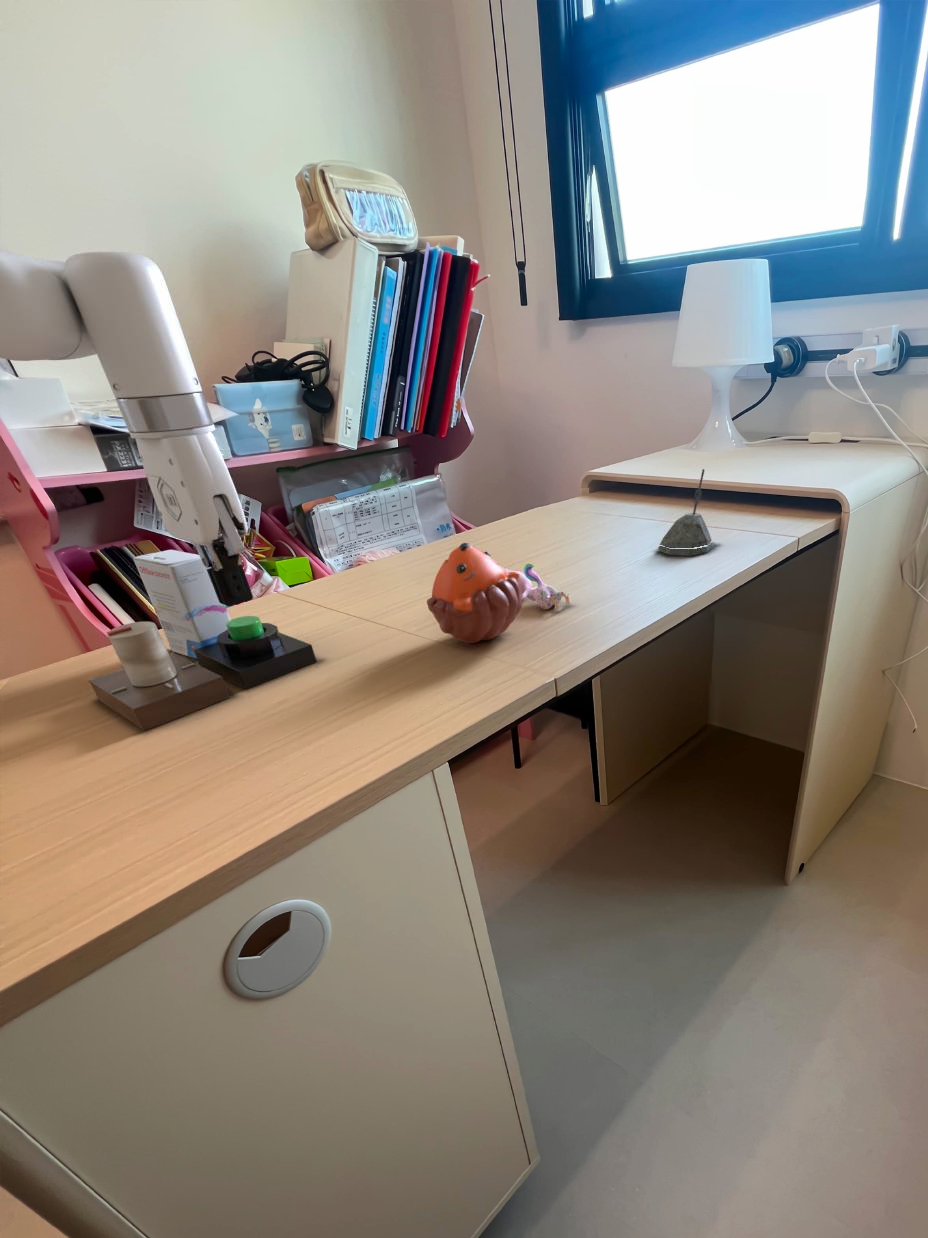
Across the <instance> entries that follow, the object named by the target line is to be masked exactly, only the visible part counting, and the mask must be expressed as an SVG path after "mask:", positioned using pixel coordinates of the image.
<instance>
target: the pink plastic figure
mask: <svg viewBox="0 0 928 1238" xmlns="http://www.w3.org/2000/svg"><path fill="white" fill-rule="evenodd" d="M534 567H535V566H534V564H532V563H526V564H525V566H524V569H523V572H521V571H519V570H510V569H507V568H504V567H502V568H503V569H504V570H505V572H506V573H509V572H518V573H519V578H518V581H517V582H518V585H519V587H520V593H521V601H523V602H525V601H526V600H527V598H528V599H529V600H530V601H532V602H536V603H537V605H538V606H539V607H540V608H541V609H543V610H549V609H551V608H552V606H554V612H555V613H558V612H557V609H560V607H559V604H560V602H561V600H562V597H564V599H565V604H564V605H565V606H567V607H569V605H571V603H570V598H569V595H570V594H565V592H564V591H558V590H556V588H555V587H553V586H552V585H551V584H546V583H544V582H543V581H542V579H541V578H540V576H539V575H538V573H536V572H535V570H534V569H533V568H534ZM532 582H535V583H536V584H537V586H535V587H533V584H532ZM568 604H569V605H568Z"/></svg>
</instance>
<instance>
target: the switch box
mask: <svg viewBox="0 0 928 1238" xmlns="http://www.w3.org/2000/svg"><path fill="white" fill-rule="evenodd" d="M261 624H262V627H263V630H264V633H263V634H261V635H259V636H256V637H253V638H249V639H243V640H232V639H231V636H230V633H229V631H228V629H227V630H226V631H224V632H223V633H221V634H219V635H218V637H217V642H216V643H213V644H210V645H207V646H204V647H201V648H198V649H195V650H194V652H195V655H196V657H197V659H196V660H197V661H198V665H199V666H201V667H203V668H205V669H207V670H209V671H211V672H213V673H216V674H218V675H220V676H222V678H223V680H224V679H225V680H226V681H228V682H230V683H232V684H235V685H236V686H239V687H241V688H242V689H245V690H248V689H250V688H253V687H256V686H259V685H261V684H263V683H266V682H268V681H271V680H273V679H276V678H278V677H281V676H284V675H286V674H289V673H291V672H293V671H296V670H300V669H301V668H304V667H307V666H310V665H312V664H314V663H317V657H316V655H315V652H314V648H313V645H312V644H311V643H308V642H305V641H303V640H301V639H297V638H294V637H292V636H289V635H288V634H285V633H282V632H280V631H279V629H278V626H277V625H275V624H272V623H270V622H261Z"/></svg>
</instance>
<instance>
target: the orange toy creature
mask: <svg viewBox="0 0 928 1238" xmlns="http://www.w3.org/2000/svg"><path fill="white" fill-rule="evenodd" d="M503 568H504V567H502V565H500V563H499V562H497V561H496V560H495V559H493V558H492V556H491V554H490V552H489V551H484V552H483V551H481V550H479V549H478V548H477V547H475V546H473V545H472V544H471V543H468V542H463V543H461V544H460V545H459V546H457V547H456V548H455V549H453V550H452V551H451V552H450V554H449V555H448V558H447V559H444V561H443V563H442V564H441V566H440V568H439V569H438V571H437V573H436V575H435V578H434V581H433V586H432V591H431V597H430V598H428V599H427V600H426V604H427V608H428V611H429V612H430V613H432V615H433V617H434V618H435V620H436V621H437V623H438V625H439V628H440V630H441V632H442V633H443V634H448V635H450V636H452V637H453V638H454V639H456V640H458V641H463V642H464V643H467V644H476V643H478V642H480V641H489V640H492V639H494V638H495V637H497V636H499V635H501V634H503V633H504V632H505V631H506V630H507V629H508V628H509V627H510V626H511V624H512V623H513V622H514V621H515V619H516V617H517V616H518V615H519V613H520V612H521V610H522V608H523V603H522V600H521V593H520V587H519V585H518V582H517V581H518V578H519V573H518V572H509V573H506V572H505V570H504V569H505V568H504V569H503Z"/></svg>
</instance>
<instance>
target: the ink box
mask: <svg viewBox="0 0 928 1238" xmlns="http://www.w3.org/2000/svg"><path fill="white" fill-rule="evenodd" d="M133 562H134V565H135V566H136V569H137V571H138V573H139V576H140V578H141V581H142V583H143V586H144V588H145V590H146V593H147V595H148V597H149V599H150V602H151V605H152V607H153V609H154V612H155V614H156V617H157V619H158V621H159V623H160V624H159V625H160V626H161V628H162V631H163V633H164V636H165V638H166V641H167V643H168V645H169V647H170V650H171V652H172V653H175V654H178V655H179V654H180V655H183V656H185V657H186V656H187V657H189V658H192V659H195V660H198V659H197V657H196V655H195V652H194V650H195V649H198V648H201V647H204V646H207V645H210V644H213V643H216V642H217V637H218V635H219V634H221V633H223V632H224V631H226V630H227V629H228V628H227V626H226V624H227V622H229V621H230V620H232V619H231V617H230V614H229V612H228V609H227V606H226V605H223V604H221V603H220V602H219V600H218V598H217V595H216V593H215V590H214V587H213V585H212V582H211V580H210V577H209V575H208V572H207V569H209V568H206V567H205V566H204V564H203V562H202V560H201V558H200V556H199V554H195V553H191V552H185V551H180V550H176V549H167V550H163V551H158V552H157V551H156V552H152V553H147V554H142V555H138V556H134V557H133ZM210 568H211V567H210Z"/></svg>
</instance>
